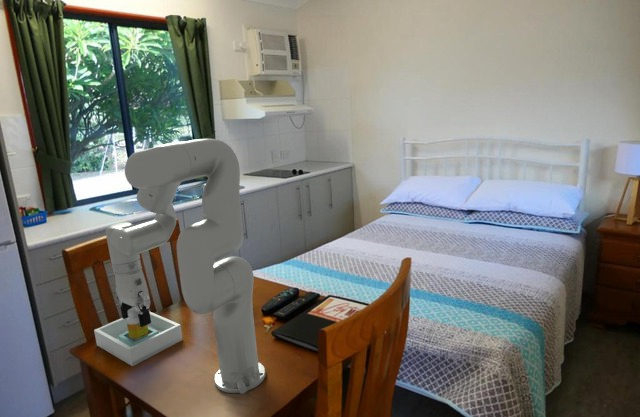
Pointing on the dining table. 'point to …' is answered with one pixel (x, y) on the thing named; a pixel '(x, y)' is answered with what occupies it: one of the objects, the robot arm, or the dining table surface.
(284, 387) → the dining table surface
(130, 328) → the supplement bottle
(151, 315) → the storage box
